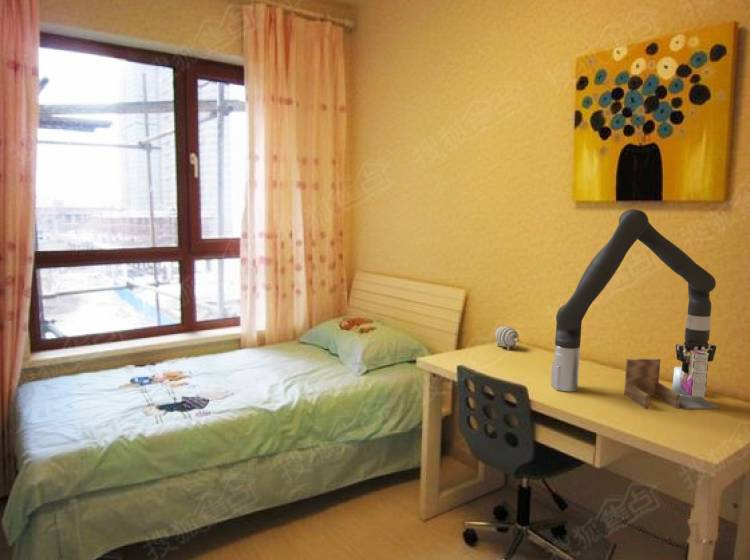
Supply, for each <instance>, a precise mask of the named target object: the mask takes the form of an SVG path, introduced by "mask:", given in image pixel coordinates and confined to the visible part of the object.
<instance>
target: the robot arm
mask: <svg viewBox="0 0 750 560" xmlns="http://www.w3.org/2000/svg"><path fill="white" fill-rule="evenodd" d="M637 240H638V241H640V242H641V243H642V245H644V246H646V247H647V248H648V249H649V250H650V251H651V252H652V253H653V254H655V255H656V257H657V258H658V259H659V260H660V261H661V262H663V263H664V264H665V265H666V266H667V267H668V268H669V269H670V270H672V271H673V272H674V273H675V274H677V275H678V276H680V277H681V278H682V279H683V280H684V281H686V283H688V284H687V285H688V286H687V290H688V292H687V293H688V303H687V304H688V306H687V315H686V319H685V329H684V343H682V344H679V343H676V345H675V353H676V360H678V361H679V362H681V366H682V371H683V372H684V373H688V369H689V359H690V355H691V354H689V355H688V354H687V352H688V353H689V352H690V350H693V351H697V350H704V351H705V352H707V353H708V354H709V359H708V363H710V362H713V361H714V359H715V354H716V350H717V345H716V344H713V343H709V342H710V334H711V323H712V320H711V319H712V318H711V317H712V316H711V314H712V302H711V300H710V293H711V292H712V291H713V290H715V288H716V285H717V281H716V279H715V277H714V276H713V274H711V273H710V272H708V271H707V270H706V269H705V268H703V267H702V266H700V265H699V264H697V263H696V261H694V260H693V259H692V258H691V257H690V256H689V255H688V254H687V253H685V252H684V251H683V250H682V249H681V248H680V247H678V246H677V245H676V244H674V243H673V242H671V241H670V240H669V239H668V238H666V237H665V236H664V235H662V234H661V233H660V232H659V231H658V230H657V229H655V227H654V226H653V225H652V223H650V222H649V217H648V215H647V213H645V212H644V211H643V210H641V209H637V208H631V209H628V210H624V212H622V213H621V214H620V216H619V218H618V225H617V227H616V229H615V230H614V233H613V234H612V237H610V239H609V240H608V242H606V244H605V245H604V246H603V247H602V248H601V249H600V250H599V251H598V252H597V254H595V256H594V257H593V258H592V260H591V261H590V263H589V265H588V266H587V268H585V270H584V272H583V274H582V276H581V278H580V279H579V282H578V284H577V287H576V288H575V290H574V292H573V294H572V295H571V297H570V298H569V299H568V300H567V302H566V303H565V304H563V305H562V306H561V307H559V308H558V310H557V311H556V316H555V317H556V318H555V320H556V325H555V326H556V327H555V337H554V338H555V339H554V356H553V357H554V358H553V359H554V361H553V362H551V377H550V379H551V380H550V386H551V387H552V388H553V389H555V390H556V391H562V392H575V391H577V390H578V387H579V386H578V385H579V370H580V355H581V353H580V351H581V339H582V338H581V337H582V323H583V319H584V317H585V316H586V314H587V312H588V310H589V308H590V307H591V305H592V304H593V303H594V301H595V300H596V299H597V298H598V296H600V294H601V293H602V292H603V291H604V290H605V288H606V286H607V285H608V284H609V282H610V281H611V279H613V277H614V276H615V274H616V272H617V271H618V269H619V267H620V265H621V264H622V262H623V261H624V258H625V256H626V255H627V254H628V252H629V250H630V249H631V247H633V245H634V244H635V243H636V242H637ZM684 348H685V349H686V350H685V352H683V350H684Z"/></svg>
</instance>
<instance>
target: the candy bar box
mask: <svg viewBox="0 0 750 560" xmlns="http://www.w3.org/2000/svg"><path fill="white" fill-rule="evenodd" d="M685 350H686V349H685V348H684V350H683V352H685ZM705 351H706V350H705ZM705 351H704V350H697V351H693V350H690V352H689V353H688V352H687V354H688V355H689V354H691V355H690V359H689V369H688V373H684V372H683V371H682V365H681V366H680V367H681V378H680V387H681V388H682V389H683V390H685V391H686V392H687V393H688V394H689V395H690V396H691V397H701V398H703V399H705V398H706V391H707V381H708V380H707V379H708V367H709V362H708V359H709V354H708V353H707V351H706V352H705Z"/></svg>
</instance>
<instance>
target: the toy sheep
mask: <svg viewBox="0 0 750 560" xmlns="http://www.w3.org/2000/svg"><path fill="white" fill-rule="evenodd" d="M494 338H495V340H496V342H497V344H496V347H498V348H499V347H500V346H501V347H504V348H506V350H507V351H510V348H511V347H512V349H513V350H516V349H517V343H519V342H520V339H519V332H518V331H517V330H516V329H515V328H513V327H511V326H505V325H503V326H500V327H498V328H497V329H496V330H495V331H494Z"/></svg>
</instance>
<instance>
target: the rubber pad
mask: <svg viewBox="0 0 750 560" xmlns="http://www.w3.org/2000/svg"><path fill="white" fill-rule="evenodd" d="M679 407H681V408H683V409H684V410H714V409H715V410H718V409H719V406H718V405H715V404H714V403H711V402H710V401H709V400H706V399H705V398H702V397H691V396H690V395H682V394H680V401H679Z"/></svg>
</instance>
